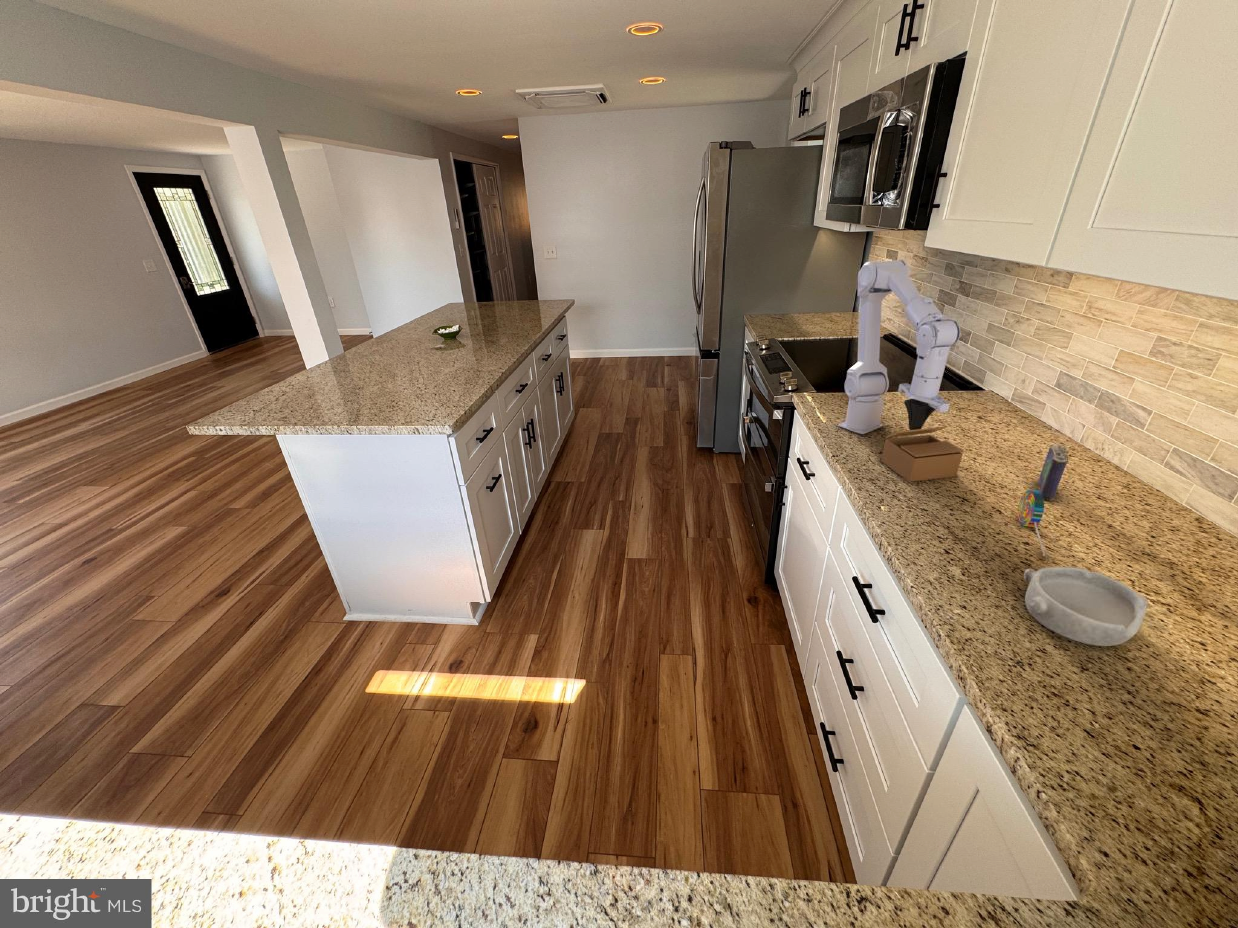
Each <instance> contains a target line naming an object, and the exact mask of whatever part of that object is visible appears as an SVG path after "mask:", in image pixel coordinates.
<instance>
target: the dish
mask: <svg viewBox="0 0 1238 928" xmlns="http://www.w3.org/2000/svg"><path fill="white" fill-rule="evenodd" d="M1023 577H1024V581H1025V582H1026V583H1028V586H1027V589H1026V591H1025V595H1024V603H1025V607H1026V609H1027V611H1028V612H1029V614H1030V615H1031V616H1032V617H1033V619H1034V620H1036V621H1037V622H1038V623H1039V624H1041V625H1042V626H1044V627H1045V628H1046V629H1048V630H1050V631H1052V632H1054V633H1056V634H1058V635H1060V636H1062V637H1065V638H1066V639H1070V640H1073V641H1075V642H1078V643H1083V644H1086V645H1090V646H1098V647H1110V646H1111V647H1112V646H1118V645H1122V644H1124V643H1126V642H1127V641H1129V640H1130V639H1132V638H1133V637H1134V636H1135V635H1136V634H1137V633H1138V631H1139V630H1140V628H1141V626H1142V624H1143V622H1144V619H1145V616H1146V613H1147V610H1148V606H1149V600H1148V599H1147V597H1146V596H1145V595H1144V594H1140V593H1137V592H1136V591H1135V590H1134V589H1132V588H1131V587H1130V586H1128V585H1126V584H1124V583H1122V582H1120V581H1118V580H1117V579H1115V578H1111V577H1110V576H1108V575H1105V574H1103V573H1101V572H1098V571H1091V570H1087V569H1085V568H1082V567H1081V568H1080V567H1073V566H1072V567H1071V566H1048V567H1047V566H1046V567H1041V568H1039V569H1038V570H1035V569H1033V568H1027V569H1025V571H1024V573H1023Z"/></svg>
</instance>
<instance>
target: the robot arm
mask: <svg viewBox="0 0 1238 928" xmlns="http://www.w3.org/2000/svg"><path fill="white" fill-rule="evenodd" d="M910 275H911V267H910V266H909V265H908V263H907V262H906V260H905V259H898V260H897V259H896V260H885V261H884V260H883V261H882V260H881V261H866V262H865V263H864V264H862V267H861V268H860V269H859V271H858V273H857V297H858V298H859V309H858V310H859V311H858V338H857V362H856V363H855V364H853V366H851V367H849V369H848V370H847V371H846V377H845V378H846V379H845V381H844V385H843V386H844V392H845V394H846V396H847V397H848V399H849V400H848V405H847V410H846V416H845V421H843V422H841V423H838V425H837V426H838V427H839V428H843V429H845V430H848V431H851V432H854V433H857V434H859V435H865V434H868V433H871V432H873V431H875V430H877V429H879V428H882V427H883V426H884V425H883V424H882V423H881V419H882V415H883V411H884V400H883V398H882V397H883V396H884V395H886V393H887V392H888V390H889V387H890V382H889V381H890V380H889V377H888V367H886V366H885V365H883V364H882V363H881V362H880V352H881V326H882V309H883V307H882V305H883V300H884V299H885V298H886V297H887V296H888V295H891V294H892V293H893V294H894V295H895V296H896V297H897V298H898V299H899V301H900V302H901V303H902V304H903V306H905V307H906V308H905V310H904V315H905V317H906V318H907V320H908V322H909V323H910V324H911V326H912V327H913V328H914V330H915V342H916V355H917V358H916V361H915V366H914V371H913V375H912V380H911V382H910V384H909V383H908V382H907V383H906V382H905V383H899V385H898V390H897V392H898V393H900V394H905V395H904V396H905V398H907V399H905V400H904V402H903V403H904V406H905V408H906V412H907V418H908V430H916V429H923V427H924V425H925V423H926V422H927V420H928V418H929V417H930V416H931V415H932V414H933V413H934V412H935V411H936V412H938V413H948V412H949V409H950V405H951V403H949V402H947V401H946V400H945V399H944V398H943V397H942V396H941V395H940V394H939V393H940V387H941V385H942V381H943V376H944V373H945V368H946V364H947V361H948V358H949V354H950V349H951V347H954V346H955V345H956V344H957V343H958V342H959V340H960V337H961V327H960V324H959V323H958V321H957V320H956V319H954V318H948V317H945V316H944V315H943V313H942V312H941V311H940V309H939V308H938V307H937V305H936V304H935V303H934V300H933V299H932V297H928V296H922V295H921V294H920V292H919V290H918V289H917V287H916V285H915V284H914V282H913V280H912V279H911V277H910Z"/></svg>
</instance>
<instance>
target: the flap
mask: <svg viewBox="0 0 1238 928" xmlns="http://www.w3.org/2000/svg"><path fill="white" fill-rule="evenodd" d="M945 429H947V426H946V425H945V426H935V427H927V428H921V429H916V430H909V429H907V430H900V431H899V430H898V431H897V432H894V433H891V434H889V435H886V439H890V438H899V437H909V436H918V435H927V434H933V433H936V432H939V431H942V430H945Z"/></svg>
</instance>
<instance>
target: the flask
mask: <svg viewBox="0 0 1238 928" xmlns="http://www.w3.org/2000/svg"><path fill="white" fill-rule="evenodd" d="M1067 450H1070V447H1069V446H1064V445H1060V444H1058V445H1050V446H1049V448H1048V450H1047V454H1046V457H1045V460H1044V462H1043V466H1042V468H1041V471H1040V473H1039V475H1038V479H1037V482H1036V485H1038V486H1037V489H1038V491H1040V492H1041V493H1042V495H1043V498H1044V500H1046V501H1053V500H1055V498H1056V493H1057V491H1058V487H1059V485H1060V483H1061V480H1062V477H1063V474H1064V471H1065V470H1066V467H1067V464H1068V461H1069V455H1068V452H1067Z"/></svg>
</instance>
